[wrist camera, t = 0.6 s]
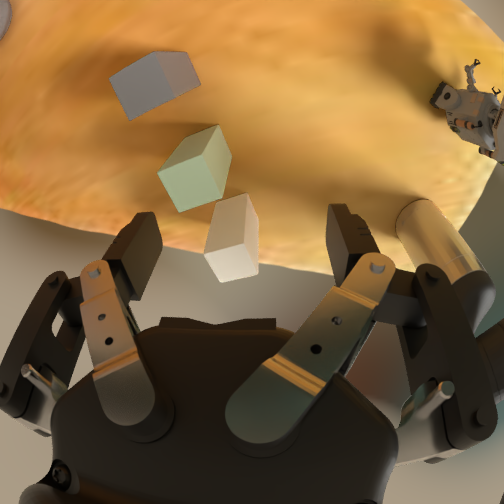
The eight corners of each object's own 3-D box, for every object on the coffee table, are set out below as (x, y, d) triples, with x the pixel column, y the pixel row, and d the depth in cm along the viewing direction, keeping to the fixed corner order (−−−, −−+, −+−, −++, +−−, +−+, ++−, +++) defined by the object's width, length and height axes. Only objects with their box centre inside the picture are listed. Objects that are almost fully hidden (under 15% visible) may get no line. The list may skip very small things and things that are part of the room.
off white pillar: (247, 192, 40) (243, 243, 31) (258, 219, 43) (258, 274, 34) (216, 202, 41) (203, 254, 32) (228, 228, 44) (220, 283, 35)
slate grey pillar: (186, 52, 27) (154, 51, 18) (201, 84, 30) (175, 97, 21) (152, 69, 28) (108, 78, 19) (166, 100, 31) (129, 121, 22)
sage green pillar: (218, 124, 34) (201, 154, 24) (232, 156, 37) (222, 198, 27) (184, 137, 35) (156, 172, 25) (199, 168, 38) (178, 212, 28)
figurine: (486, 92, 25) (552, 124, 14) (457, 142, 32) (517, 188, 21) (454, 54, 23) (527, 72, 11) (422, 108, 30) (489, 145, 18)
